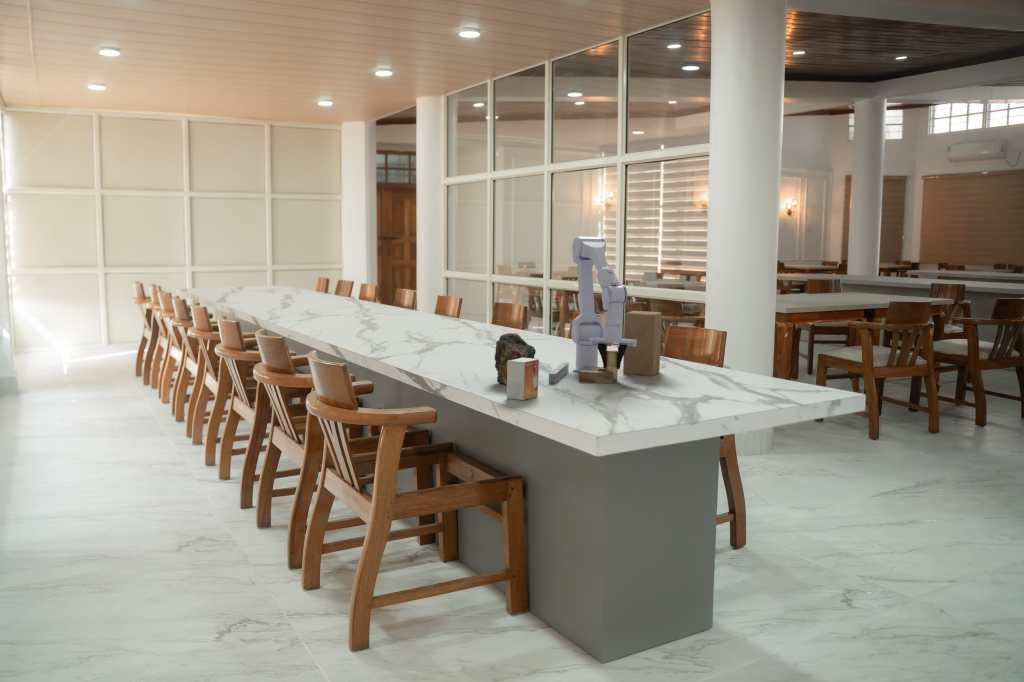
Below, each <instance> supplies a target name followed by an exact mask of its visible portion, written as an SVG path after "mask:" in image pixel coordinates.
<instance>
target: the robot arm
mask: <svg viewBox="0 0 1024 682" xmlns="http://www.w3.org/2000/svg"><path fill="white" fill-rule="evenodd" d="M571 247H572V248H571V250H572V262H573V263H574V264H576V265H577V266H576V267H577V268H576V269H577V284H578V285H577V287H578V288H577V289H578V301H579V302H578V303H579V305H578V306H579V313H578V315H577V316H576V317H575V318H574V319H572V321H571V329H570V330H571V331H570V336H571V339H572V341H573V342H574V344H576V347H575V367H574V368H573V369H572V372H580V371H581V370H582V369H583V368H584V367H585V366H590V367H599V366H598V363H599V362H598V361H599V359H598V358H599V354H600V358H601V361H602V364H603V366H602V367H603V368H605V369H606V351H607V350H608V346H617V351H618V363H617V369H618V370H620V369H621V365H622V362H623V361H622V360H623V359H624V353H625V351H626V349H627V346H634V347H636V345H637V340H633V339H624V338H623V327H624V325H623V324H624V323H623V322H624V305H625V304H626V302H627V300H628V291H627V287H626V286H625V285H623V283H620V280H619V279H618V277H617V275H616V273H615V270H614V269H613V268H612V267H610V266H609V263H608V260H607V257H606V250H607V241H606V239H605V238H604V236H596V237H595V236H576V237H575V238H574V239H573V241H572V246H571ZM593 266H594V267H595V268H596V269H595V270H596V271H597V274H596V279H597V281H598V284H599V286H600V288H601V291H602V292H601V301H602V309H603V310H604V313H603V314H604V315H603V316H604V317H603V319H601V317H599V316H598V315H597V314H596V313H595V293H594V275H593V273H594V272H593Z"/></svg>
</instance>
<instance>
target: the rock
mask: <svg viewBox="0 0 1024 682" xmlns="http://www.w3.org/2000/svg"><path fill="white" fill-rule="evenodd" d="M536 353H537V351H536V349H535V347H534V346H533V345H530V344H528V343H527V342H526V341H525V340H524V339H523V338H522V337H521V336H520V335H519V334H518V333H516V332H515V333H512V332H511V333H505V334H501V335H500V336H499V339H498V340H497V341H496V343H495V354H494V361H495V364H494V368H495V370H496V371H497V378H496V380H497V383H500V384H503V385H505V386H506V387H507V361H508V360H515V359H519V358H532V359H535V355H536Z"/></svg>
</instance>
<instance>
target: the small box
mask: <svg viewBox="0 0 1024 682" xmlns="http://www.w3.org/2000/svg"><path fill="white" fill-rule="evenodd" d="M539 360H540V359H538V358H534V359H532V358H519V359H515V360H508V361H507V386H506V398H507V399H509V400H511V399H512V400H519V401H525V400H529V399H532V398H537V397H538V396H539V372H540V371H539V369H540V366H539V365H540V363H539V362H540V361H539Z"/></svg>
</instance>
